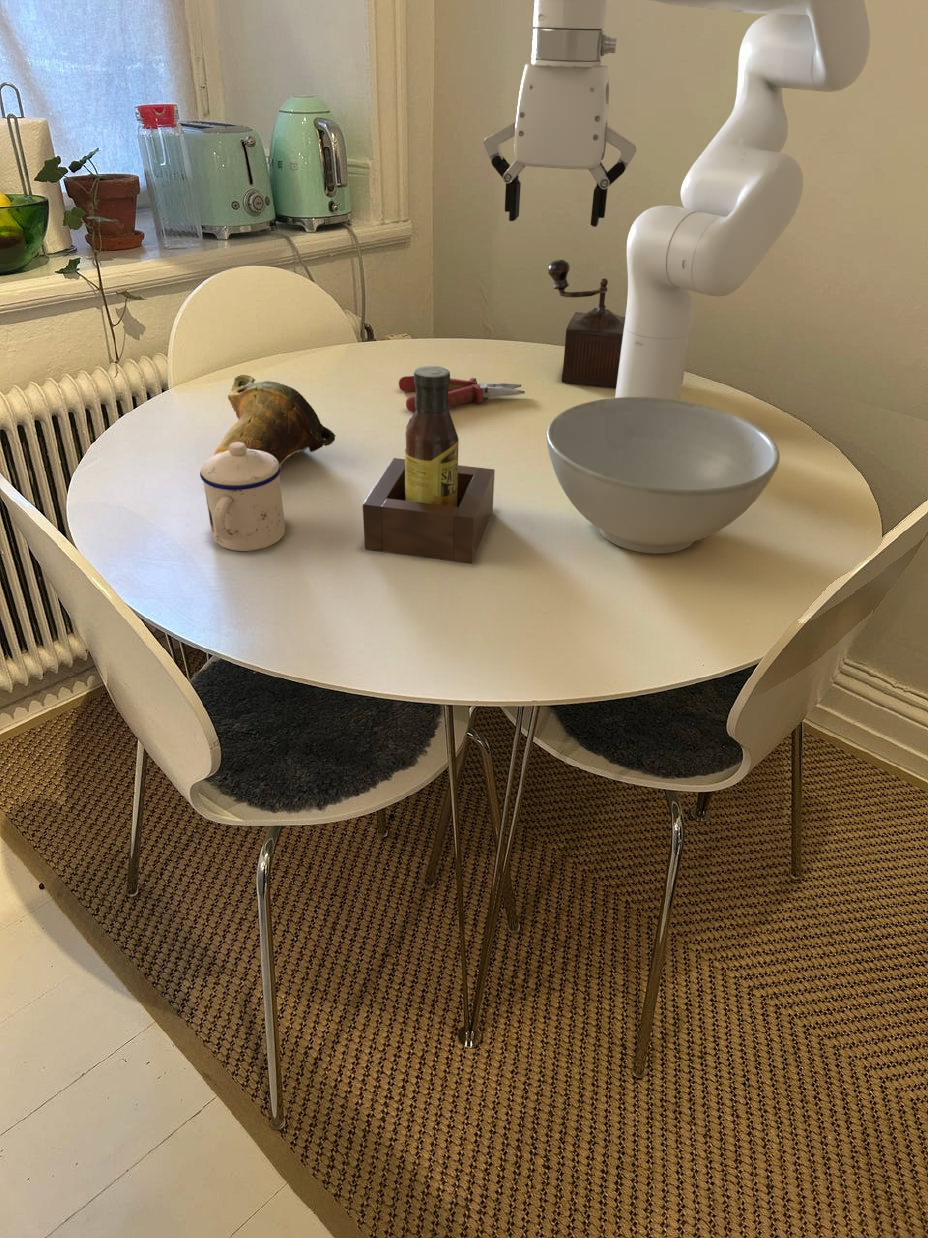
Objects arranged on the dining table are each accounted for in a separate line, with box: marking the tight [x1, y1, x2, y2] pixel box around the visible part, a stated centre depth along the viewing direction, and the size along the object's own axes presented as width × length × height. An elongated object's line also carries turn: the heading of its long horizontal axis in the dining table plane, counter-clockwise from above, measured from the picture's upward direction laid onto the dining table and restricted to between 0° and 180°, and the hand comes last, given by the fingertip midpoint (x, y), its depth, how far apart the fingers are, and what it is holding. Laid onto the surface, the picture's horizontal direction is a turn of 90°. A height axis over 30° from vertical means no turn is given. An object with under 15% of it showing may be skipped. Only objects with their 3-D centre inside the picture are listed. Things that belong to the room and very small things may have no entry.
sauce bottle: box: [404, 365, 460, 507], centre depth 102 cm, size 7×6×20 cm
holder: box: [362, 457, 496, 564], centre depth 106 cm, size 13×13×6 cm
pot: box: [212, 374, 336, 466], centre depth 120 cm, size 17×11×18 cm
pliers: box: [398, 375, 526, 413], centre depth 143 cm, size 12×20×3 cm, turn 100°
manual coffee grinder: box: [547, 259, 626, 389], centre depth 149 cm, size 16×11×18 cm
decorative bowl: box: [546, 397, 781, 554], centre depth 106 cm, size 27×27×12 cm
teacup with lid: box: [199, 442, 286, 552], centre depth 101 cm, size 12×9×12 cm
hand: (553, 221), depth 103 cm, fingers open, 9 cm apart
